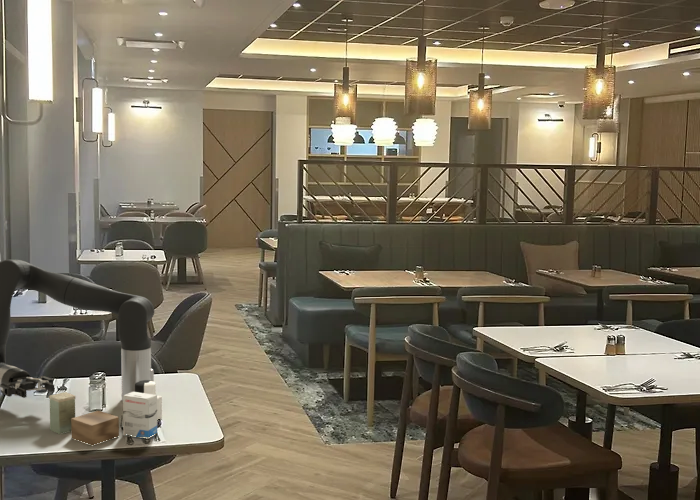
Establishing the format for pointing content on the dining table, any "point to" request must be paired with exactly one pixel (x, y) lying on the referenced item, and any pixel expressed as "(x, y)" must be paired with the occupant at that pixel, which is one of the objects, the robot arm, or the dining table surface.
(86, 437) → the walnut block
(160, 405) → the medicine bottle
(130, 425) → the ink box
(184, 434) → the dining table surface
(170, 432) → the dining table surface
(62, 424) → the tea tin
